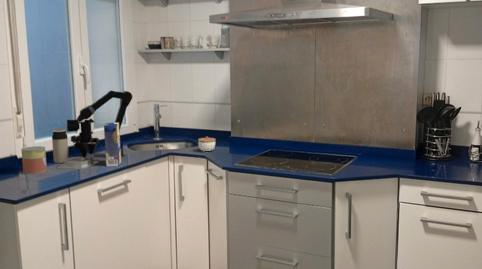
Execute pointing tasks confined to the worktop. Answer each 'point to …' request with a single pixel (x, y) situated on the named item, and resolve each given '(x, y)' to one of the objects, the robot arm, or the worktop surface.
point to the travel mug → (60, 145)
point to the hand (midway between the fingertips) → (87, 157)
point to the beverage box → (112, 144)
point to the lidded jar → (206, 143)
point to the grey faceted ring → (77, 163)
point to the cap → (89, 156)
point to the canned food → (34, 160)
